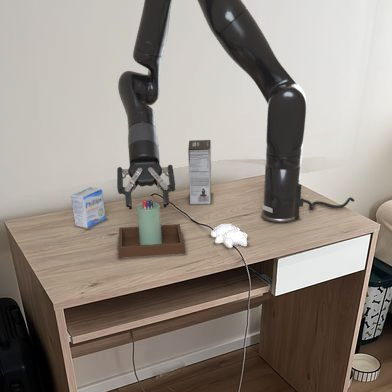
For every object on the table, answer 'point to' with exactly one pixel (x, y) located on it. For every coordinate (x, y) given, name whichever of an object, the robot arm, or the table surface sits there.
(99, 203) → the medicine box
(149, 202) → the pen pot
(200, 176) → the coffee box
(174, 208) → the table surface
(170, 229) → the tray
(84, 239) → the table surface
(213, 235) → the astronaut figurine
